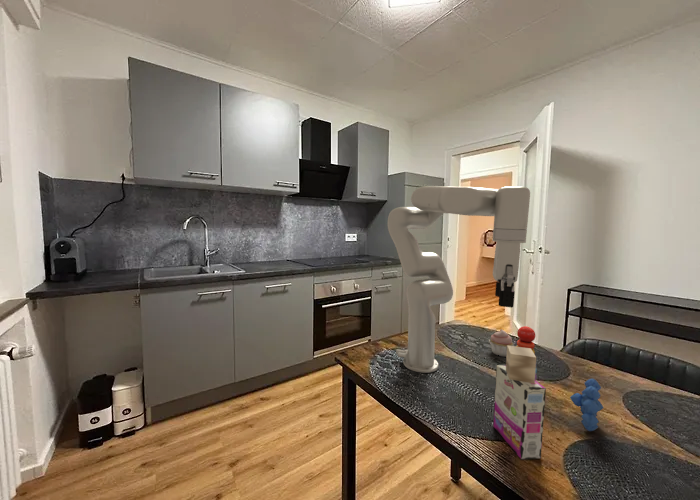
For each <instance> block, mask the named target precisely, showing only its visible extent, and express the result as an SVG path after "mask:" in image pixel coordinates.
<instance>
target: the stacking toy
mask: <svg viewBox="0 0 700 500" xmlns="http://www.w3.org/2000/svg"><path fill="white" fill-rule="evenodd" d="M516 334H517V337H518V340H517V341H516V345H515V346H516V347H523V348H531V349H532V351H533V353H534V354H535V353H536V352H535V343H534V342H533V341H534V340H535V339H536V331H535V330H534V329H533V328H531V327H530V326H526V325H525V326H521V327H518V330H517V331H516ZM537 373H538V369H537V368H536V370H535V381H537V382H538V380H537V378H538V377H537Z"/></svg>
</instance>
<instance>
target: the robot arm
mask: <svg viewBox="0 0 700 500" xmlns="http://www.w3.org/2000/svg"><path fill="white" fill-rule="evenodd" d="M410 197H411V198H410V200H411V203H412V205H413V206H399V207H396V208H393V209H391V211H390V212H389V214H388V217H387V230H388V233H389V235H390V238H391V240H392V241H393V243H394V246H395V248H396V252H397V255H398V258H399V261H400V264H401V267H402V270H403V273H404V274H405V276H406V277H408V278H410V279H411V278H412V279H417V278H420V279H417V280H414V281H412V282H410V283H409V284H408V285H407V287H406V300H407V306H408V307H407V308H408V309H407V310H408V321H407V322H408V329H407V330H408V331H407V333H408V334H407V349H405V350H403V349H399V348H397V349H396V351H395V354H396V355H397V357H398V358H403V360H402V363H403V365H404V366H405V367H406V368H407V369H408V370H410V371H413V372H416V373H421V374H422V373H424V374H425V373H426V374H427V373H433V372H435V371H437V370H438V369H439V362H438V361H437V359H435V349H436V348H435V344H436V316H435V313H434V312H433V310H432V306H437V305H441V304H442V305H443V304H447V303H449V302H450V301H451V300H452V299H453V297H454V296H453V295H454V290H453V284H452V281H451V279H450V276H449V274H448V271H447V268H446V266H445V263H444V260H443V259H442V258H441V256H440V255H439V254H437V253H435V252H434V251H433V252H432V251H427V252H425V251H422V249H421V248H420V246H419V245H420V244H419V242H418V240H417V238H416V237H415V236H414V234H412V233H411V232H410V231H409V230H426V229H428V228H430V227H431V226H433V225H434V224H435V222H437V221H438V219H439V218H441V216H443V215H444V214H453V215H460V216H470V217H471V216H473V217H475V216H478V217H479V216H481V217H493V229H492V240H491V241H492V242H496V245H495V249H494V257H493V258H494V259H493V267H492V278H493V279H494V280H495V294H494V295H495V297H496V298H498V306H499V307H503V308H510V309H511V308H514V304H515V295H516V294H515V293H516V292H515V283H516V282H517V281H518V276H519V269H520V259H521V258H520V256H521V244H526V243H527V234H528V233H527V232H528V222H529V212H530V202H531V200H530V199H531V190H530V189H529V188H528V187H526V186H517V185H516V186H511V185H510V186H504V187H503V186H502V187H501V188H500V187H499V188H488V187H487V188H486V187H477V186H476V187H474V186H450V185H447V186H446V185H445V186H443V185H442V186H438V185H435V186H434V185H425V186H420V187H418V188H416V189H414V191H413V192H412V193H411V196H410ZM421 278H424V279H421ZM425 278H426V279H425Z"/></svg>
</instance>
